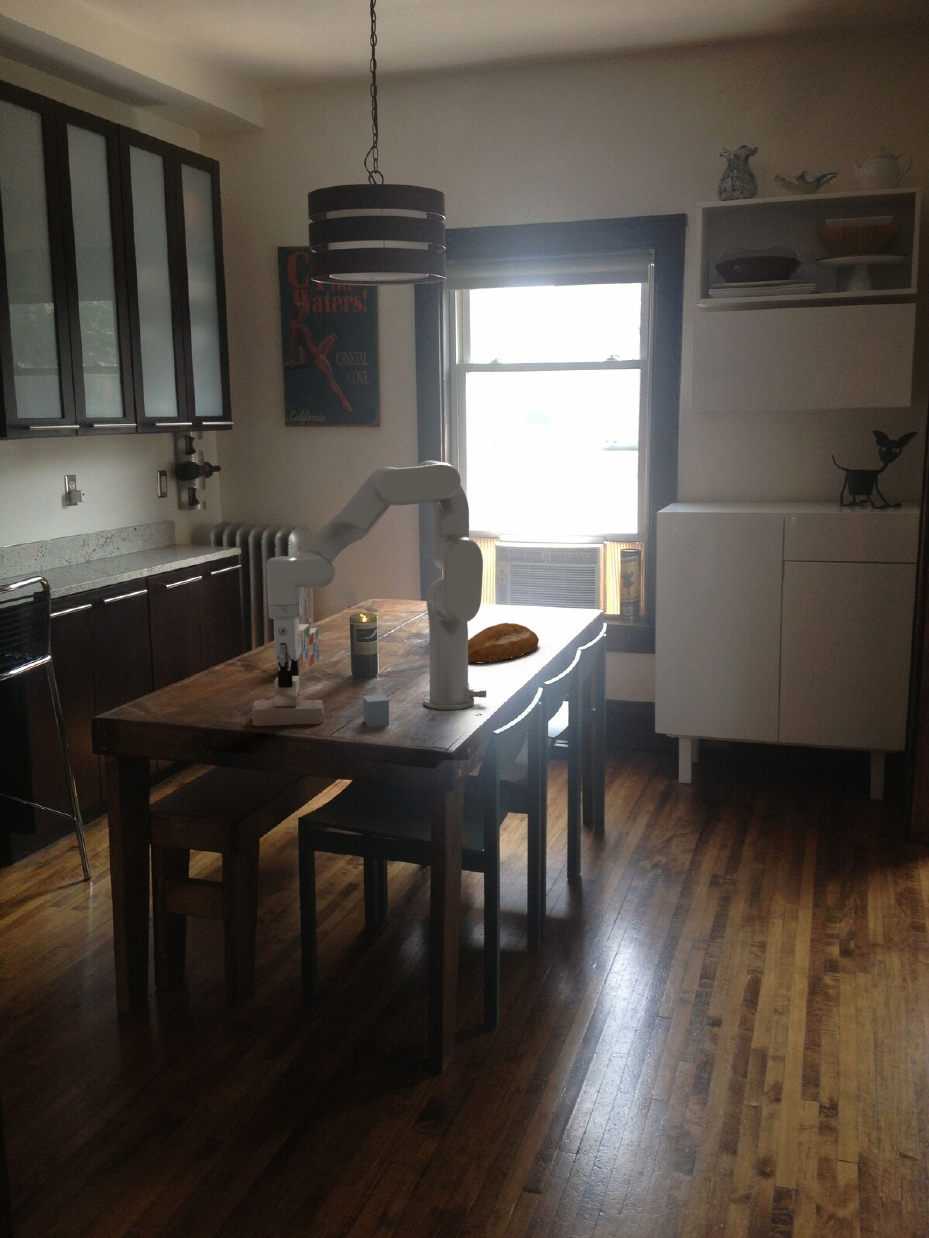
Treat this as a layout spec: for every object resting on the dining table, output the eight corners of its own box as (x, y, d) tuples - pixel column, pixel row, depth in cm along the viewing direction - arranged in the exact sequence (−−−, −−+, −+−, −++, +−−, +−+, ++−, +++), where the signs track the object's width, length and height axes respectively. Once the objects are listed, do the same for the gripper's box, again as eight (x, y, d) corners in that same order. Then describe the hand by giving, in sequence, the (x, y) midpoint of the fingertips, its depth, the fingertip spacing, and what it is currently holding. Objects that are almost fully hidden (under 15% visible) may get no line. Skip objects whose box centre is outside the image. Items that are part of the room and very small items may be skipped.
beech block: (299, 700, 261) (299, 675, 260) (296, 706, 256) (295, 681, 255) (278, 700, 261) (278, 675, 260) (275, 706, 256) (274, 681, 255)
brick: (324, 715, 264) (323, 696, 263) (324, 725, 256) (323, 706, 255) (254, 718, 262) (253, 699, 261) (252, 728, 254) (251, 709, 253)
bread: (440, 661, 319) (440, 631, 317) (507, 639, 347) (507, 612, 345) (490, 669, 309) (490, 638, 307) (555, 647, 337) (556, 618, 335)
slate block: (384, 719, 260) (384, 694, 259) (389, 725, 255) (388, 700, 254) (363, 720, 258) (363, 696, 257) (367, 726, 254) (367, 701, 253)
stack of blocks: (298, 658, 321) (297, 617, 319) (319, 659, 320) (318, 617, 318) (277, 676, 300) (276, 632, 298) (299, 677, 300) (298, 632, 297)
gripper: (296, 617, 246) (299, 691, 249) (305, 603, 263) (309, 672, 266) (262, 618, 246) (266, 692, 249) (274, 603, 263) (278, 673, 266)
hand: (288, 681), depth 258 cm, fingers open, 9 cm apart
